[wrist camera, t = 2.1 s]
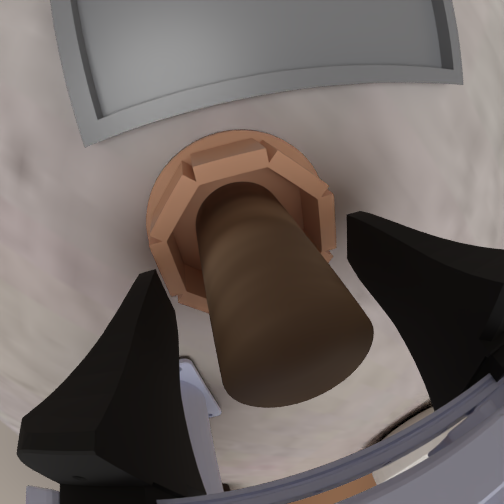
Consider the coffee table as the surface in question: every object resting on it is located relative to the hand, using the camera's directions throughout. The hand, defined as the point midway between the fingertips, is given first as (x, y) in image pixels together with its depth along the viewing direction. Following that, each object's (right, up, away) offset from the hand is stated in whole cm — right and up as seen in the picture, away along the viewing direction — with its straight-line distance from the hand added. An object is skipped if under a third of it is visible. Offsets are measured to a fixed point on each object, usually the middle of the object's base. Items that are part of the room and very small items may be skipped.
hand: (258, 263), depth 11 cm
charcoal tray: (+1, +12, -3) cm, 12 cm away
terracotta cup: (-1, +2, +3) cm, 4 cm away
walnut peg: (-1, +2, +3) cm, 3 cm away
